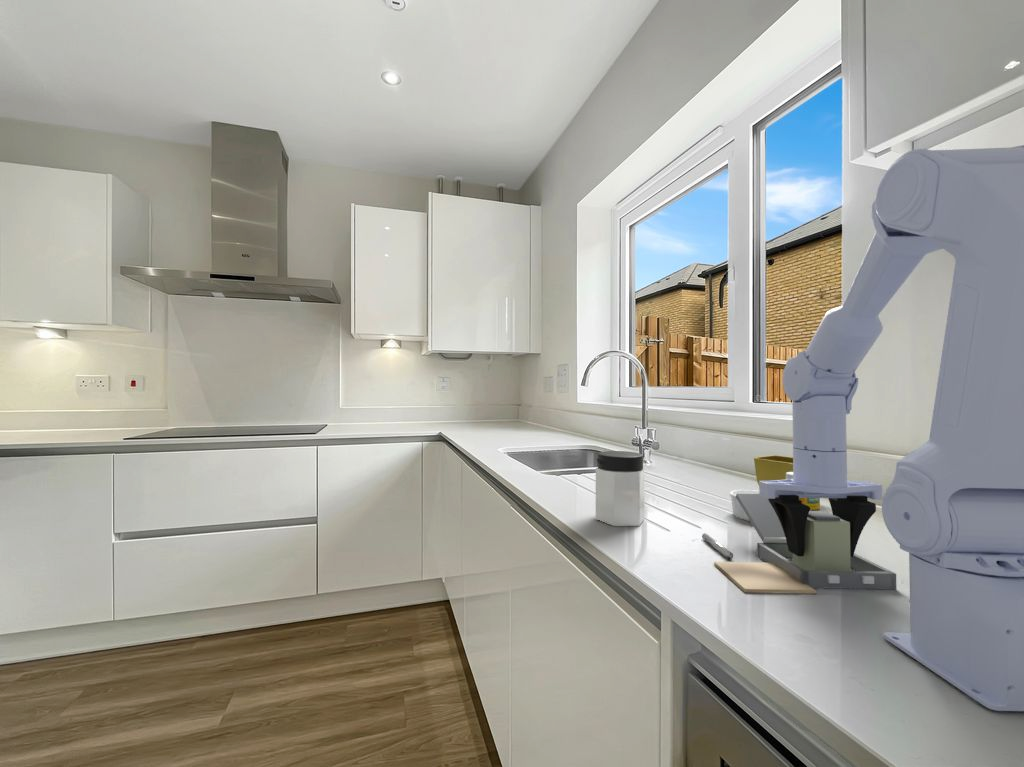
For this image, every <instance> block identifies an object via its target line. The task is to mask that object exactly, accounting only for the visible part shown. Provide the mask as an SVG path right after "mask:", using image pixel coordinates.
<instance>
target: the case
mask: <svg viewBox="0 0 1024 767" xmlns="http://www.w3.org/2000/svg"><path fill="white" fill-rule="evenodd" d="M756 547H757V548H756V550H757V554H756V555H757V557H758V558H760V559H762V560H763V561H764V562H765V563H773V564H774V565H776V566H777V567H779V568H780V569H782V570H783V571H785V572H786V573H788V574H789V575H791V576H792V577H793V578H795V579H796V580H798V581H799V582H801V583H802V584H807V585H809V586H810V587H812V588H813V589H856V590H857V589H864V590H865V589H869V590H870V589H875V590H897V573H896V572H894V571H891V570H890V569H888V568H885V567H883V566H882V565H879V564H877V563H875V562H873V561H871V560H869V559H866V558H864V557H862V556H860V555H858V554H856V553H854V555H853V557H850V562H851V569H853V570H851V571H814V570H804V569H802V568H801V567H799V566H797V565H796V564H794V563H793V561H791V560H790V559H789V558H791V559H793V553H792V552H790V551H789V550H788V545H787V543H763V542H757V544H756Z"/></svg>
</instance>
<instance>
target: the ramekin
mask: <svg viewBox="0 0 1024 767" xmlns="http://www.w3.org/2000/svg"><path fill="white" fill-rule="evenodd" d="M729 494H730V495H729V496H730V498H731V507H732V508H731V509H732V514H733V515H734V516H735V518H738V517H739V518H738V519H740V518H741V519H740V520H743V519H744V521H747V520H748V522H751V521H750V520H749V518H748V516H747V515H746V513H745V512H744V510H743V508H742V507H741V505H740V503H739V502H738V500H737V498H736V494H759V490H758V489H757V490H753V489H735V490H731V491H730V492H729Z"/></svg>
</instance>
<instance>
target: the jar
mask: <svg viewBox="0 0 1024 767" xmlns="http://www.w3.org/2000/svg"><path fill="white" fill-rule="evenodd" d="M596 456H597V458H596V464H597V465H596V466H597V467H596V468H595V520H596V519H597V520H596V521H598V520H600V521H599V522H601V521H602V522H601V523H603V522H605V523H604V524H606V523H607V525H609V524H610V526H612V527H639V526H641V524H642V523H643V522H644V520H645V468H644V455H643V454H642V453H640V452H634V451H623V450H605V451H599V452H597V455H596Z"/></svg>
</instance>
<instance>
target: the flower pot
mask: <svg viewBox="0 0 1024 767" xmlns="http://www.w3.org/2000/svg"><path fill="white" fill-rule="evenodd" d="M753 462H754V469H755V470H754V471H755V477H756V481H757V485H758V486H759V481H773V480H785V479H786V473H787V472H793V456H785V455H777V454H776V455H775V454H771V455H764V456H756V457H754V458H753Z"/></svg>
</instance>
